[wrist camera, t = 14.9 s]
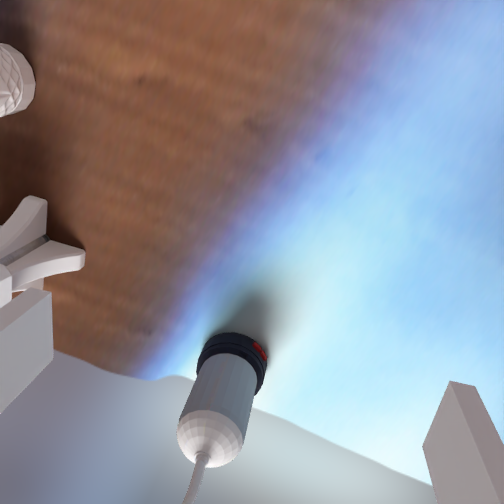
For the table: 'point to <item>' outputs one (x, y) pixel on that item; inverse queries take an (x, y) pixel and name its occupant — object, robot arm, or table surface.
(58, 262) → the toy gun turret
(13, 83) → the white cup
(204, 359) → the humidifier
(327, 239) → the table surface
